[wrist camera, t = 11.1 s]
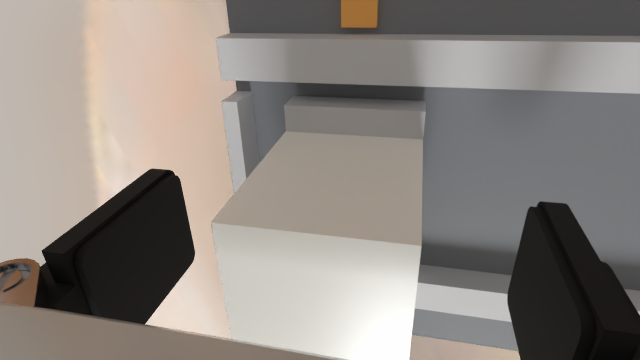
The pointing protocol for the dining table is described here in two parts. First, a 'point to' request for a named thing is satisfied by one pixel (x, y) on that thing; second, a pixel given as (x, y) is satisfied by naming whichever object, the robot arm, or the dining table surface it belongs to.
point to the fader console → (465, 125)
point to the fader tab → (329, 232)
